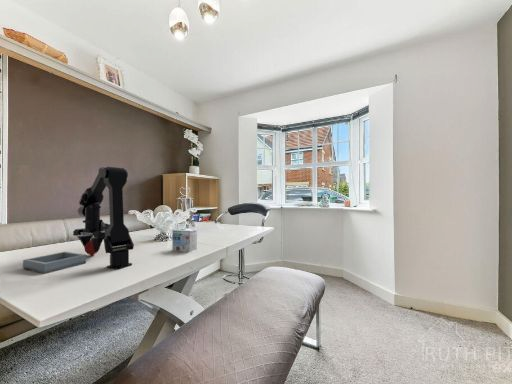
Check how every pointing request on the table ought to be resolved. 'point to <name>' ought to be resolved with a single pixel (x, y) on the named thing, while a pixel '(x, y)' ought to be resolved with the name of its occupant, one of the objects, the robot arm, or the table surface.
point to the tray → (54, 262)
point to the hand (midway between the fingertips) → (92, 251)
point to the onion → (90, 248)
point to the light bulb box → (184, 240)
